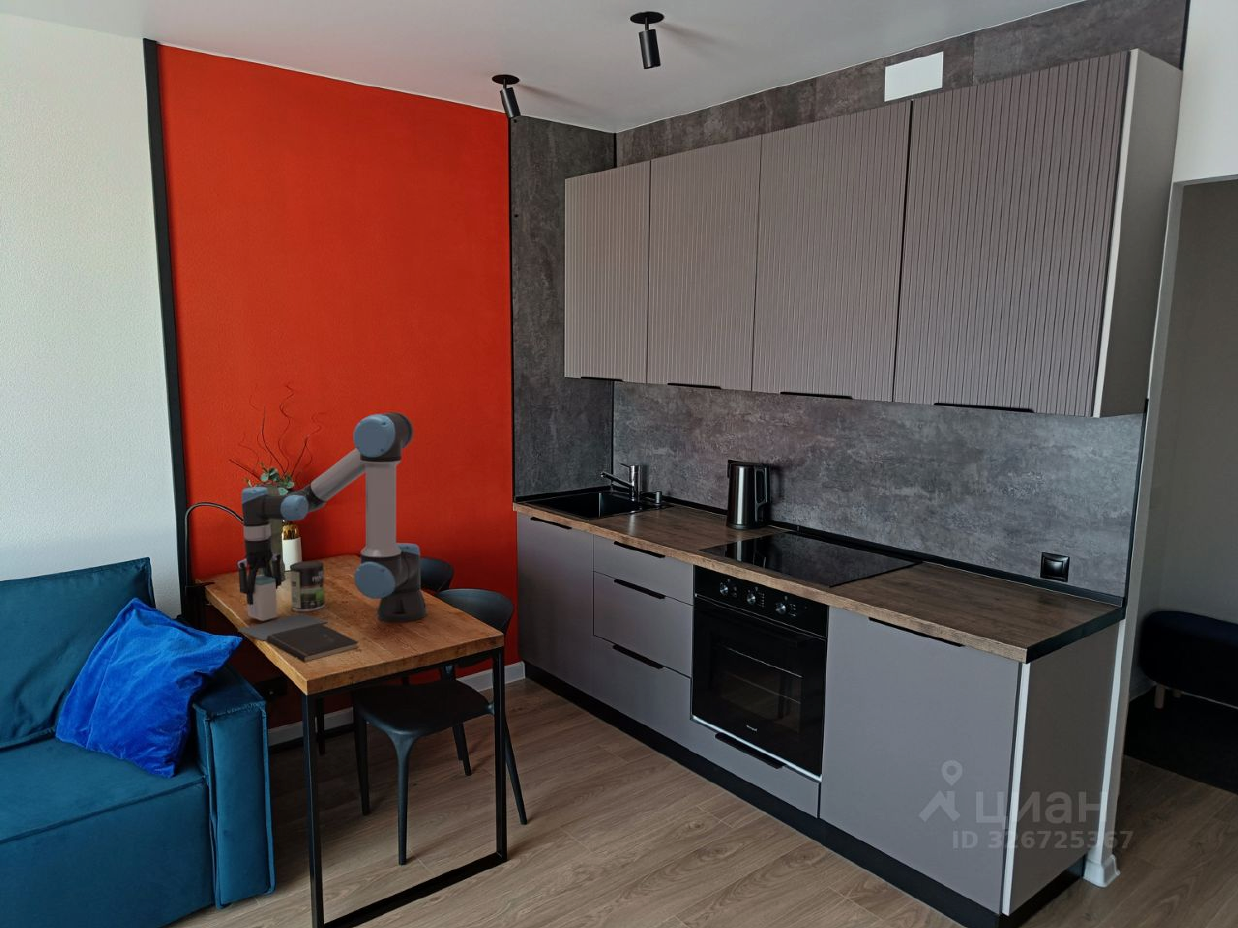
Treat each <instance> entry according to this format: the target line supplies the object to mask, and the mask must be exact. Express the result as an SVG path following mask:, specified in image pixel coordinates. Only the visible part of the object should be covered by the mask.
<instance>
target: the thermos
mask: <svg viewBox="0 0 1238 928" xmlns="http://www.w3.org/2000/svg"><path fill="white" fill-rule="evenodd" d="M258 487H265V488H267V490H268V494H269V495H281V494H280V490H279V488H278V485H276V484H275V483H264V484H261V485H259V486H258ZM287 525H288V520H273V519H271V520H270V531H271V536H269V537H270V538H271V546H272V548H271V551H272V553H273V554H280V555H281V559H280V570H281V583H282V582H285V580H286V575H285V574H286V564H285V562H284V553H283V552H284V551H283V533H284V527H285V526H287ZM269 563H270V566H271V572H272V575H273V568H272V559H271V560H270V562H269ZM257 573H258V575H260V574H262V575H265V574H264V571H263V569H262V568H259V569H258V572H257Z"/></svg>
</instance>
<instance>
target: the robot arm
mask: <svg viewBox="0 0 1238 928" xmlns="http://www.w3.org/2000/svg"><path fill="white" fill-rule="evenodd" d="M414 431H415V429H414V426H413V424H412V421H411V420H410V419H409V417H407V416H406V415H404V414H403V413H402V412H401V413H400V412H395V411H390V412H384V413H378V414H377V413H375V414H370V415H369V416H366V417H365V418H363V419H361V420H360V421H359V422H357V423H356V426H355V428H354V431H353V434H352V436H353V437H352V439H353V444H354V447H355V448H354V449H353V450H351V451H350V452H349V453H347V454H346V455H345V456H344V457H342V458H341V459H340V460H339V461H337V462H336V463H334V464H333V465H332V466H331V467H329V468H328V469H326V470H325V471H324V472H323V473H322V474H320V475H319V476H318V477H316V478H314V480H312V481H311V482H310V483H309V484H307V485H306V486H305V487H303V488H301V489H299V490H296V491H292V492H290V493H286V494H280V495H269V494H268V490H267V488H265V487H259V486H254V487H247V488H244V489H242V491H241V503H240V504H241V511H242V520H243V521H242V524H243V525H242V526H243V539H244V540H243V541H244V551H245V556H244V559H241V560H240V561H236V564H235V565H236V566H237V567H236V568H237V570H238V580H239V581H238V584H239V593H241V594H244V595H246V605H247V604H249V605H250V614H253V615H257V601H256V594H254V587H255V581H256V575H258V573H259V572H258V569H259V568H262V569H263V571H264V574H265V576H267V577H271V578H274V579H275V582H276V590H277V589H278V588H279V586H281V585H282V582H281V570H280V559H281V555H280V554H273V553H272V551H271V548H272V546H271V538H270V537H269V536H271V531H270V520H271V519H273V520H283V521H285V520H287V521H291V522H292V521H301V520H304V519H305V517H306V516H307V514H308V513H311V512H316V511H318V510H319V509H322V508H323V507H325V505H326V503H327V502H328V501H329V500H330V499H331V498H333V497H334V496H335V495H337V494H338V493H340V492H341V491H342V490H343V489H345V488H346V487H347V486H349V485H350V484H351V483H353V482H354V481H355V480H356V479H358V478H359V477H361V476H362V475H363V474H365V547H363V548H362V550H361V551H360V564H359V565H358V567H357V568H356V569H355V572H354V575H353V580H354V584H355V586H356V589H357V590H358V591H359V592H360V593H361V594H362V595H363V596H365V597H366V598H369V599H372V600H378V599H380V600H379V604H378V608H377V613H376V614H377V618H378V620H380V621H383V622H387V623H407V622H408V623H409V622H414V621H418V620H421V619H423V618H425V617H426V616H427V613H428V612H427V611H428V609H427V604H426V601H425V599H424V595H423V593H422V590H421V552H420V547H419V545H417V544H416V543H407V542H406V543H405V542H403V543H402V542H397V466H398V465H399V464H400V463H401V462H402V450H404V449H405V448H407V447H408V446H409V445H410V443H411V442H412V440H413V437H414ZM271 559H272V568H273V575H272V572H271V566H270V563H269V562H270V560H271ZM247 566H248V569H247ZM247 570H248V571H247ZM247 572H248V573H247ZM247 577H248V580H247Z"/></svg>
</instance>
